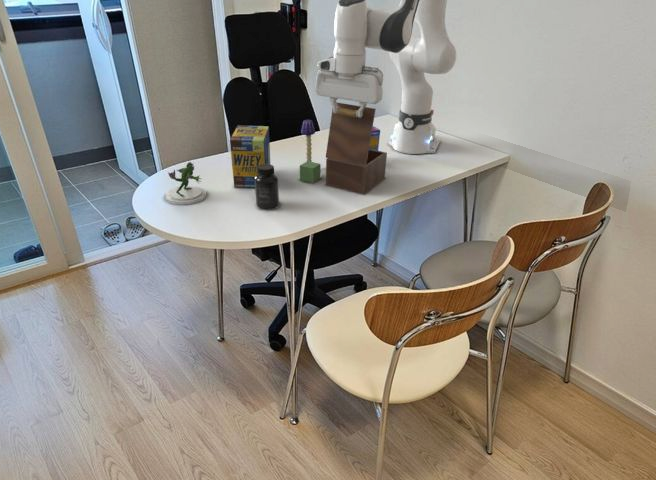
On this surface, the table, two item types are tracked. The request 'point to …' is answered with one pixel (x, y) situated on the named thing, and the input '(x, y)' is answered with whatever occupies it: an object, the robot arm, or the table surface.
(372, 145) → the ink cartridge box
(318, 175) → the green toy block
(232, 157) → the protein box
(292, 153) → the table surface
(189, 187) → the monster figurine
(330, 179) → the chest
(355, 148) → the chest lid
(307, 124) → the toy lamp
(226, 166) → the table surface
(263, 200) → the supplement bottle
